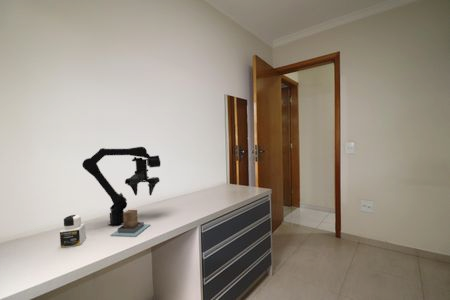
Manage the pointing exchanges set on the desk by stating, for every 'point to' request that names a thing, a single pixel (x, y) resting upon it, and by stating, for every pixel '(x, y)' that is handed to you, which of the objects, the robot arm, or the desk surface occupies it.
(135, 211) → the walnut peg
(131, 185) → the robot arm
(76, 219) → the medicine bottle
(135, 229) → the socket holder
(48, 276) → the desk surface
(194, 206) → the desk surface
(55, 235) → the desk surface
